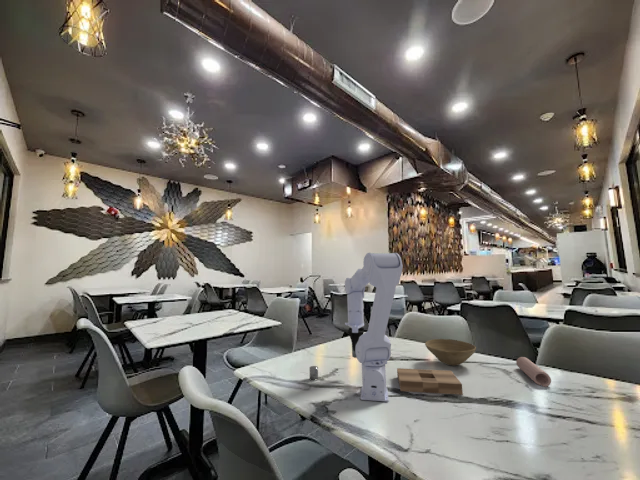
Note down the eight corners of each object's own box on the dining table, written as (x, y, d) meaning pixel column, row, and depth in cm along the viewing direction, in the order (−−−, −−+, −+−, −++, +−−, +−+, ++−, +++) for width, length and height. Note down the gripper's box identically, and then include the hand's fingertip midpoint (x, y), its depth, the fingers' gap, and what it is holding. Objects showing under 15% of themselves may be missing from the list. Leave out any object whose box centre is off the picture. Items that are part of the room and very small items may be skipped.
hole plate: (462, 394, 84) (461, 384, 84) (400, 391, 87) (400, 380, 87) (451, 379, 95) (451, 370, 96) (397, 377, 99) (397, 368, 99)
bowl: (473, 376, 98) (471, 352, 99) (420, 366, 109) (419, 345, 110) (480, 362, 113) (479, 342, 114) (433, 355, 124) (432, 336, 125)
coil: (551, 373, 88) (530, 357, 105) (534, 370, 90) (515, 355, 107) (551, 389, 88) (530, 370, 105) (534, 385, 89) (515, 367, 106)
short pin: (317, 381, 97) (317, 368, 97) (308, 380, 97) (308, 368, 98) (318, 377, 100) (318, 366, 100) (310, 377, 100) (310, 365, 101)
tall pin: (360, 357, 99) (359, 334, 100) (352, 357, 99) (351, 334, 100) (360, 355, 102) (359, 332, 103) (352, 355, 102) (351, 332, 103)
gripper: (346, 308, 110) (347, 344, 109) (342, 313, 96) (343, 354, 95) (364, 308, 109) (365, 344, 108) (363, 313, 95) (364, 355, 93)
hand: (356, 349), depth 101 cm, fingers closed on tall pin, 3 cm apart
